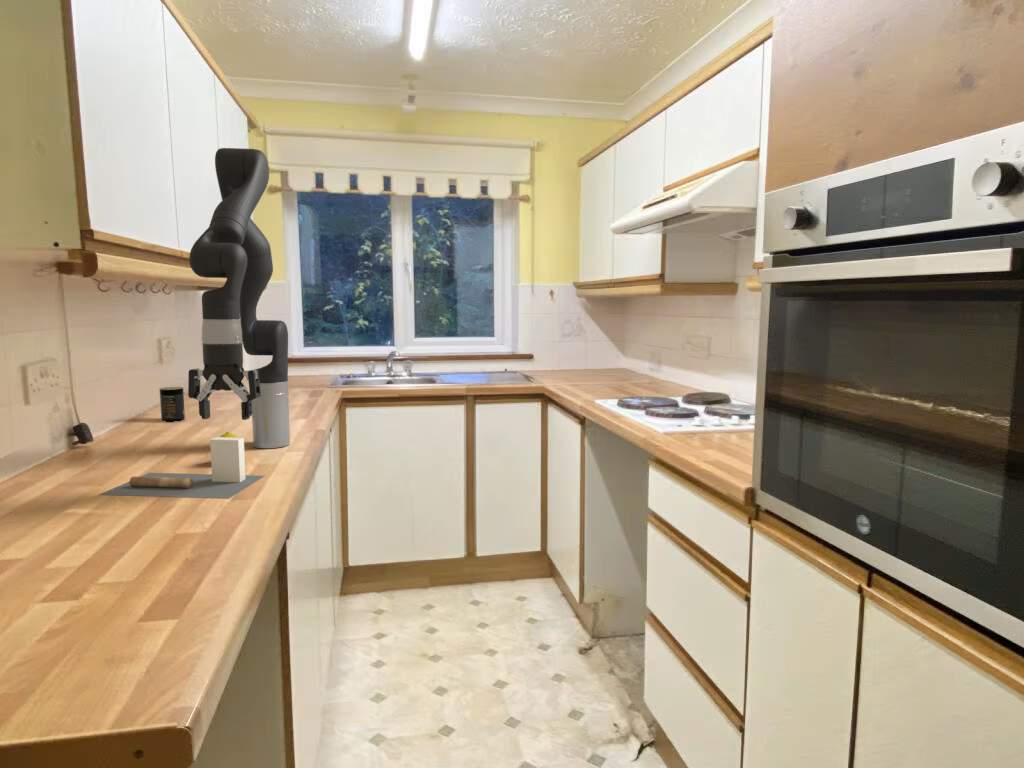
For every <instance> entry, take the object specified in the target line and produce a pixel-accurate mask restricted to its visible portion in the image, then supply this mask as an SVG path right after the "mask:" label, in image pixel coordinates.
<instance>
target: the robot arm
mask: <svg viewBox="0 0 1024 768" xmlns="http://www.w3.org/2000/svg"><path fill="white" fill-rule="evenodd" d="M267 158H268V157H267V156H266V155H265V153H264V151H262V150H261V149H255V148H241V147H240V148H238V147H237V148H235V147H234V148H233V147H220V148H218V149H217V150H216V152H215V155H214V165H215V166H214V167H215V172H216V173H215V174H216V179H217V183H218V187H219V192H220V197H221V201H220V202H219V203H218V205H217V206H216V208H215V209H214V210H213V213H212V216H211V220H210V222H209V226H208V228H207V229H206V230H205V231H204V232H203V233H202V234H201V235H200V236H199V238H197V240H196V241H195V242H194V243H193V245H192V246H191V250H190V252H189V257H188V258H189V259H188V260H189V261H188V262H189V265H190V269H191V270H192V271H193V273H194V274H195V275H197V276H199V277H201V278H204V279H205V278H206V279H207V278H210V279H211V278H213V279H214V278H215V279H216V278H217V279H219V278H221V279H226V281H225V282H224V284H223V285H222V286H221V287H219V288H214V289H208V290H206V291H204V292H203V293H202V294H201V312H202V324H201V325H202V326H201V342H202V343H201V344H202V359H203V360H202V362H203V365H204V367H203V369H199V368H192V369H189V370H188V386H187V387H188V388H187V391H188V393H187V395H188V398H189V399H195V400H196V401H198V402H197V403H198V411H199V412H198V415H199V416H200V417H201V419H202V420H207V419H210V418H211V401H210V400H209V398H210V397H211V396H212V394H213V393H214V392H215V391H222V390H223V391H227V392H228V391H229V392H231V391H232V392H233V393H234V394H235V395H237V396H238V397H239V399H240V400H241V403H240V406H241V408H240V409H241V419H242V421H243V420H244V421H245V420H246V421H247V420H249V419H250V417H251V419H252V423H251V424H252V443H253V445H252V446H253V447H254V448H258V449H275V448H276V449H277V448H283V447H287V446H289V445H290V444H291V435H290V432H291V431H290V430H291V429H290V405H289V402H290V400H289V378H288V377H289V373H288V372H289V360H288V359H289V352H288V351H289V331H288V327H287V324H286V323H285V322H284V321H283V320H278V319H277V320H276V319H275V320H270V319H269V320H267V319H266V320H265V319H263V320H262V319H261V320H260V319H259V320H258V319H257V306H258V304H259V301H260V299H261V296H262V294H263V292H264V291H265V289H266V287H267V286H268V284H269V282H270V280H271V278H272V277H273V272H274V265H273V257H272V250H271V245H270V243H269V240H268V238H267V237H266V236H265V234H264V233H263V231H262V230H261V229H260V228H259V227H258V225H257V224H256V223H255V222H254V220H252V218H251V217H252V214H253V212H254V211H255V209H256V207H257V205H258V203H259V202H260V200H261V198H262V197H263V194H264V193H265V191H266V189H267V187H268V183H269V181H270V167H269V161H268V159H267ZM243 349H244V350H243ZM243 351H245V353H246V354H247V355H250V356H272V359H271V361H270V362H269V363H268V364H267V365H264V366H262V367H261V366H260V367H259V368H255V369H252V370H244V367H243V366H244V365H243V364H244V352H243ZM203 378H204V379H205V380H206V382H205V383H204V385H203V387H202V388H201V380H202V379H203ZM244 378H245V379H246V380H247V381H248V387H247V386H246V384H245V383H244V382H243V379H244ZM248 388H249V390H248Z"/></svg>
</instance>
